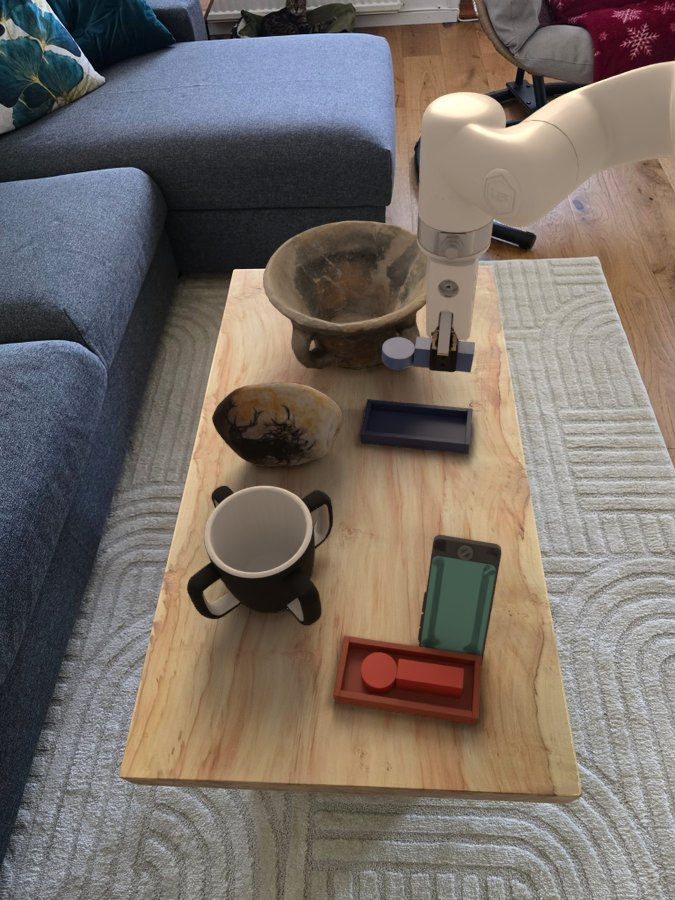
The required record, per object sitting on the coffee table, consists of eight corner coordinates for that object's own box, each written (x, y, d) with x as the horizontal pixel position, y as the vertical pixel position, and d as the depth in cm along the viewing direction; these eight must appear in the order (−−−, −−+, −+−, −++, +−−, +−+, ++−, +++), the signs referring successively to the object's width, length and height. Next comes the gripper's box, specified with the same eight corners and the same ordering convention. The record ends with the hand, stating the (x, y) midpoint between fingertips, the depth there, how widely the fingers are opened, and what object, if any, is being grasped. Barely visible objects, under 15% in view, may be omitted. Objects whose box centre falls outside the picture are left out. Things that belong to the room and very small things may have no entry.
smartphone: (502, 549, 71) (481, 670, 75) (502, 544, 72) (481, 664, 77) (431, 538, 72) (415, 657, 77) (432, 533, 73) (416, 651, 78)
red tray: (479, 663, 76) (481, 655, 75) (476, 725, 72) (478, 718, 70) (345, 643, 79) (344, 635, 77) (334, 702, 74) (333, 695, 73)
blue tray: (471, 418, 100) (472, 408, 98) (468, 454, 95) (470, 444, 94) (367, 408, 102) (367, 398, 100) (360, 443, 98) (359, 433, 96)
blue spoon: (471, 355, 84) (475, 337, 82) (470, 378, 82) (473, 359, 79) (383, 346, 86) (384, 327, 83) (379, 368, 83) (380, 349, 81)
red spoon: (462, 671, 75) (464, 660, 73) (459, 707, 73) (462, 697, 70) (364, 656, 77) (363, 645, 75) (358, 691, 75) (357, 680, 72)
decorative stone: (345, 434, 99) (339, 359, 87) (345, 483, 93) (339, 409, 82) (226, 438, 100) (204, 364, 88) (219, 487, 94) (195, 414, 83)
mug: (232, 517, 91) (214, 462, 82) (349, 536, 88) (344, 480, 79) (189, 630, 81) (163, 581, 72) (319, 655, 78) (310, 607, 69)
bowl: (292, 287, 122) (281, 212, 110) (440, 294, 118) (446, 217, 107) (258, 395, 105) (242, 319, 94) (430, 406, 102) (436, 329, 90)
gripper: (489, 278, 63) (470, 412, 78) (494, 188, 73) (477, 321, 88) (409, 273, 65) (405, 406, 79) (424, 185, 74) (419, 317, 89)
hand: (443, 360), depth 83 cm, fingers closed on blue spoon, 2 cm apart
